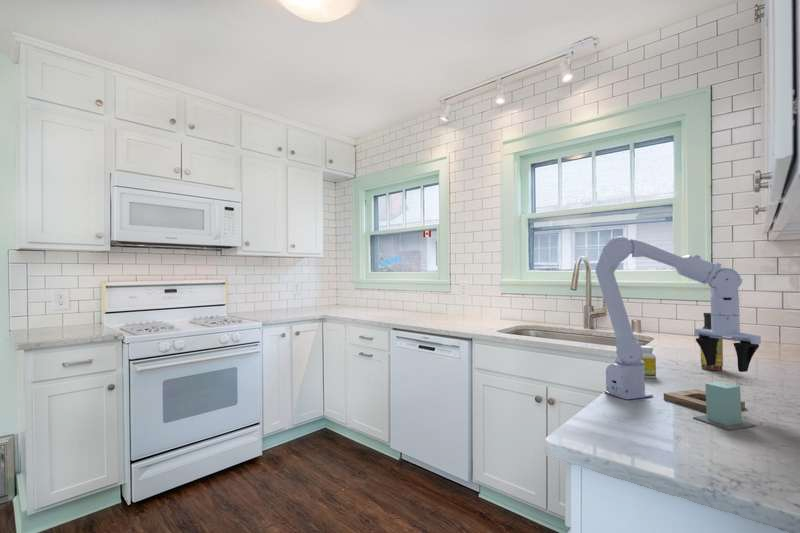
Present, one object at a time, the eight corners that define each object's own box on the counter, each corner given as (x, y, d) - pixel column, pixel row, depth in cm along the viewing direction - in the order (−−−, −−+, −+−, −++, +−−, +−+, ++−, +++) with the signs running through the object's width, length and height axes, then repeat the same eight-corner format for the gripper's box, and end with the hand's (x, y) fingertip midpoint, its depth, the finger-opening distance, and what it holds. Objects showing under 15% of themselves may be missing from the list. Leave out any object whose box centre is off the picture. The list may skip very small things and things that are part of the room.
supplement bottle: (659, 378, 129) (658, 348, 129) (640, 378, 130) (639, 347, 130) (652, 374, 134) (651, 345, 135) (634, 374, 136) (633, 345, 136)
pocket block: (710, 413, 96) (709, 406, 96) (663, 399, 108) (663, 393, 108) (745, 408, 100) (744, 401, 100) (696, 394, 111) (696, 389, 111)
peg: (727, 425, 88) (726, 388, 88) (706, 418, 92) (705, 383, 92) (741, 422, 89) (740, 386, 89) (720, 416, 93) (719, 381, 93)
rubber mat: (730, 430, 85) (730, 429, 85) (692, 418, 93) (692, 416, 93) (756, 426, 88) (756, 424, 88) (717, 414, 95) (717, 413, 95)
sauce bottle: (718, 372, 137) (716, 313, 138) (697, 368, 142) (695, 312, 143) (727, 369, 140) (725, 312, 141) (706, 366, 146) (704, 311, 146)
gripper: (768, 316, 97) (770, 373, 97) (707, 312, 111) (709, 361, 111) (748, 317, 95) (750, 375, 95) (688, 312, 109) (689, 363, 109)
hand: (726, 368), depth 103 cm, fingers open, 7 cm apart
